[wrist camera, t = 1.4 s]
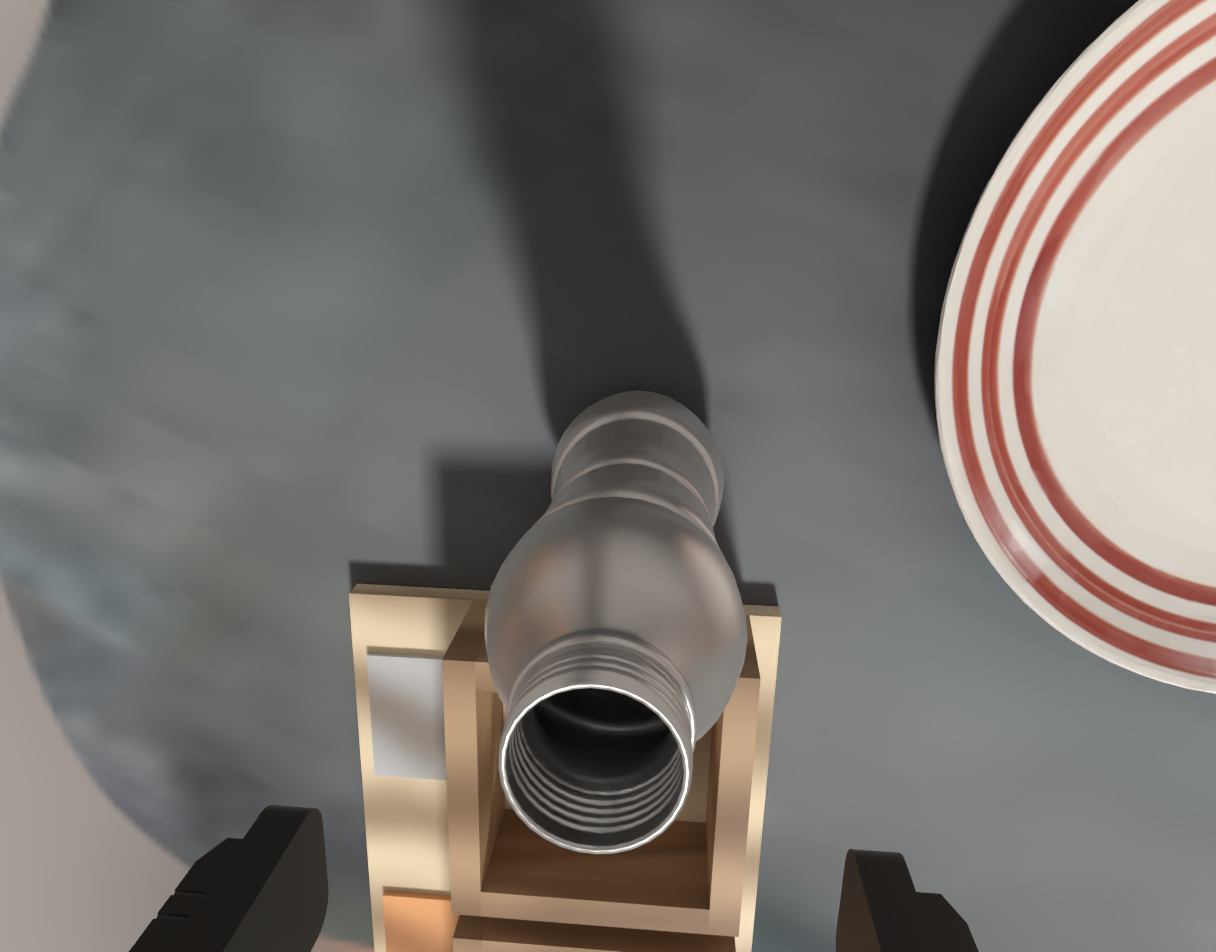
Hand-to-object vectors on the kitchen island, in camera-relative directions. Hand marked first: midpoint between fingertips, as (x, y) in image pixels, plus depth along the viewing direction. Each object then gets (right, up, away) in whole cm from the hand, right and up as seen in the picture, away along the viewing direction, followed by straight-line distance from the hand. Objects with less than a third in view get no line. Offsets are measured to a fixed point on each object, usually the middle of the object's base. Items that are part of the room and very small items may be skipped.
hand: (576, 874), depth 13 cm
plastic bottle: (+2, +7, +22) cm, 23 cm away
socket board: (-2, -10, +27) cm, 29 cm away
